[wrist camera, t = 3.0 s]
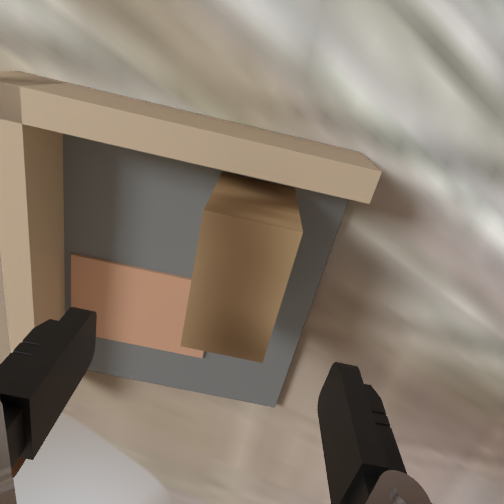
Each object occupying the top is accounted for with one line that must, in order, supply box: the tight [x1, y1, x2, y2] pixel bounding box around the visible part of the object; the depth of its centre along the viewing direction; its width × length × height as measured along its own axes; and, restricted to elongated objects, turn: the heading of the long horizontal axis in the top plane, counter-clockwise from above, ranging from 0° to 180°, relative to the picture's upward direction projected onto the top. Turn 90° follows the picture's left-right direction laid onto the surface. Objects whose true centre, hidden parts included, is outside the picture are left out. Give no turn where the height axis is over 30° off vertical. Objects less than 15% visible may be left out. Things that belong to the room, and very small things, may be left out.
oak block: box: [180, 172, 303, 363], centre depth 19 cm, size 4×7×6 cm, turn 168°
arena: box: [0, 71, 382, 407], centre depth 21 cm, size 18×19×4 cm
